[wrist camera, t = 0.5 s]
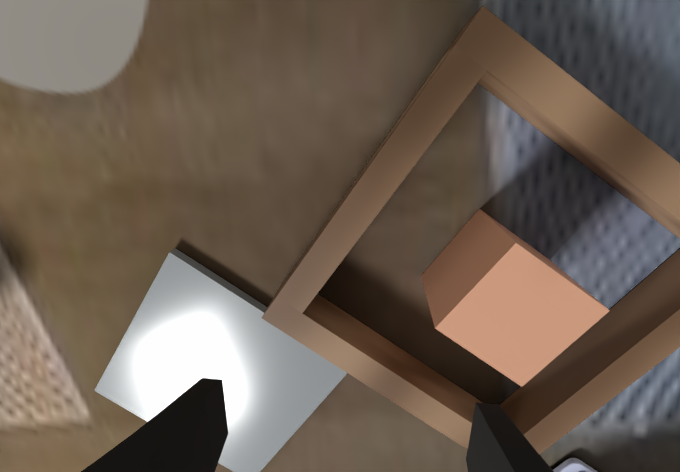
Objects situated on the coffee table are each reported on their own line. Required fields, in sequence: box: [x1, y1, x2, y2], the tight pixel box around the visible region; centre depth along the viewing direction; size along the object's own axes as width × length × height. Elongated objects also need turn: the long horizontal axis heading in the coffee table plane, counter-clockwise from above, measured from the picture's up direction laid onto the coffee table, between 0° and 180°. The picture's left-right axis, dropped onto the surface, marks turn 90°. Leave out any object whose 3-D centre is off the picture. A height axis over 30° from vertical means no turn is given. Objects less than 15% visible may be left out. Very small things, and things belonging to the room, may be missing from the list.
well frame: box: [262, 6, 680, 454], centre depth 17 cm, size 16×16×2 cm
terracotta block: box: [421, 209, 610, 387], centre depth 16 cm, size 4×4×5 cm
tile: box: [94, 248, 347, 472], centre depth 22 cm, size 12×12×1 cm
